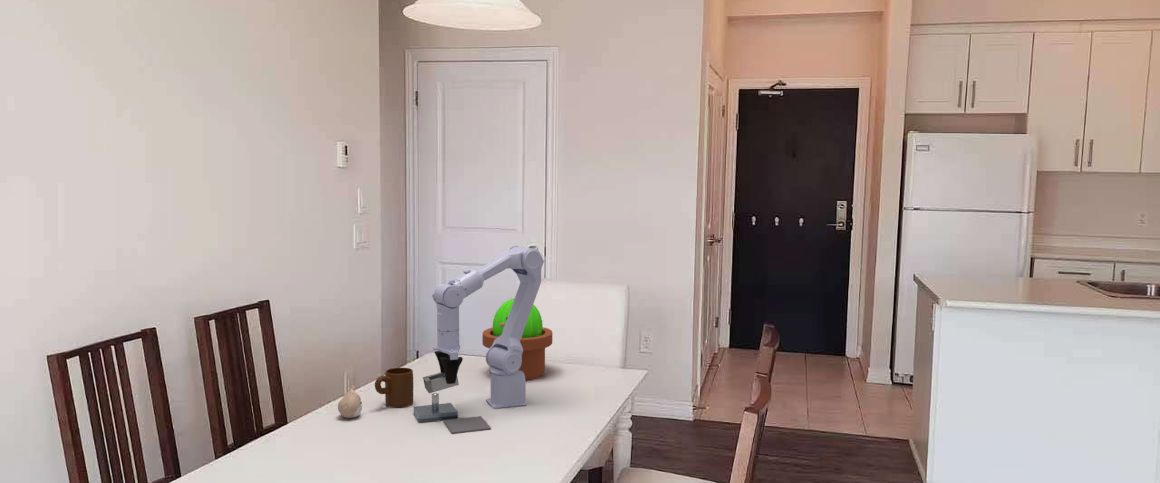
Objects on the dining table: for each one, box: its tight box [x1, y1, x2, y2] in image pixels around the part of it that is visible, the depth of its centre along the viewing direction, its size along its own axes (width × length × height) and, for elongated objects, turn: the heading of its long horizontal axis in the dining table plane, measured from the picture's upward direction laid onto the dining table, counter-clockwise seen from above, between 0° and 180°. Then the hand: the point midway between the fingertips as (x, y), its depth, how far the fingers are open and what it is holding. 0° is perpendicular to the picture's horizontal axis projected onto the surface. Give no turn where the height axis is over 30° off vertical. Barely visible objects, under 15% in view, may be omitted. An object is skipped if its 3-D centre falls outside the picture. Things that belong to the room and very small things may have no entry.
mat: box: [442, 415, 492, 435], centre depth 201 cm, size 10×10×1 cm
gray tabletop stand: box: [422, 371, 460, 394], centre depth 208 cm, size 8×5×3 cm
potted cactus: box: [482, 297, 553, 381], centre depth 251 cm, size 22×22×25 cm
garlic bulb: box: [337, 384, 363, 419], centre depth 207 cm, size 7×6×8 cm
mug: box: [374, 367, 414, 409], centre depth 217 cm, size 12×8×9 cm, turn 143°
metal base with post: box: [413, 392, 459, 424], centre depth 208 cm, size 10×8×6 cm
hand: (448, 380), depth 209 cm, fingers closed on gray tabletop stand, 5 cm apart
